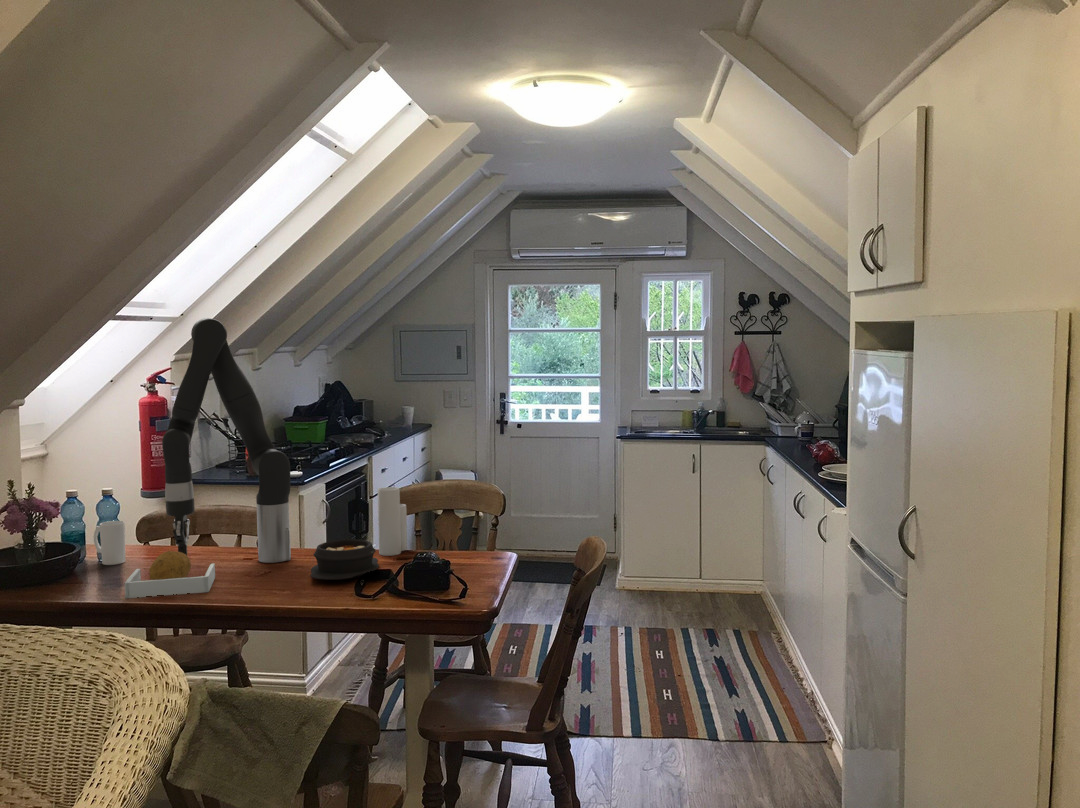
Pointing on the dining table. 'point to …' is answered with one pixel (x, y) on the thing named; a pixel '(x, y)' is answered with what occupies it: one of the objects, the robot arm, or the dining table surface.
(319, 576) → the casserole
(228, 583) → the dining table surface
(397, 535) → the vase
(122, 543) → the mug
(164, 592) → the bin
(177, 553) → the potato
